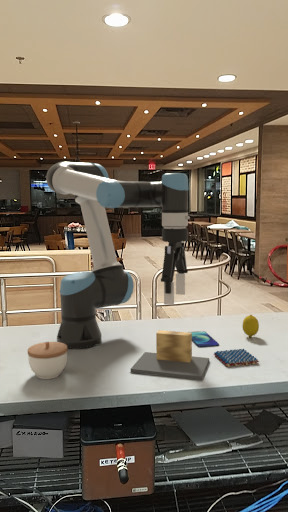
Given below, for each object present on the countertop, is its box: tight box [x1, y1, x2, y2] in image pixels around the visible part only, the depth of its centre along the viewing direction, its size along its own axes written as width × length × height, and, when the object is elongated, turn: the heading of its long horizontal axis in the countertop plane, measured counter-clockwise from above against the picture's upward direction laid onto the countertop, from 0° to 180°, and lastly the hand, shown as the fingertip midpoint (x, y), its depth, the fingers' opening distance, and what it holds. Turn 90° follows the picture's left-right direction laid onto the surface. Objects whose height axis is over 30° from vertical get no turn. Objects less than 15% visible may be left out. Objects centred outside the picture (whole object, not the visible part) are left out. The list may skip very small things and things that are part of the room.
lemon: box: [241, 314, 260, 338], centre depth 148 cm, size 6×6×8 cm
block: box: [155, 329, 193, 363], centre depth 125 cm, size 10×3×8 cm, turn 73°
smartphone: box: [188, 330, 220, 348], centre depth 147 cm, size 8×1×15 cm
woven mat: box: [213, 348, 260, 368], centre depth 128 cm, size 10×11×2 cm
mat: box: [130, 351, 210, 381], centre depth 123 cm, size 20×14×1 cm
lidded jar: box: [27, 341, 68, 380], centre depth 118 cm, size 11×11×9 cm
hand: (175, 299), depth 126 cm, fingers open, 13 cm apart
